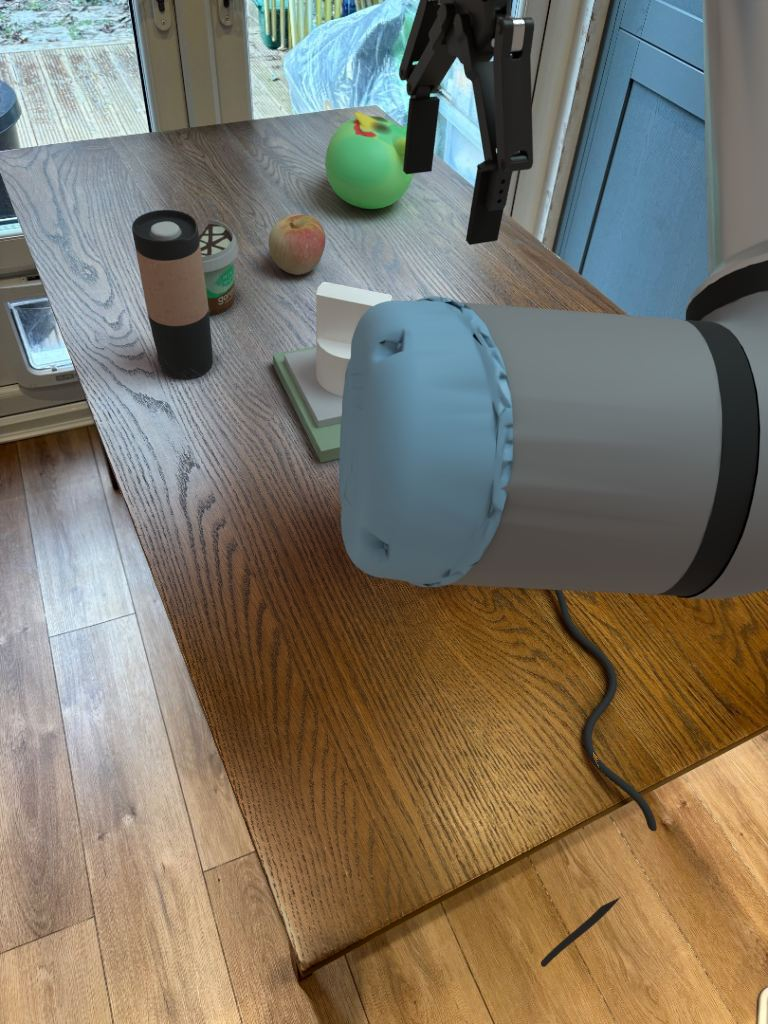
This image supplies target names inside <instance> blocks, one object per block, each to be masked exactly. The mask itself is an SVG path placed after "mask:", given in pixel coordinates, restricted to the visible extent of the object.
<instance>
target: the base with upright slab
mask: <svg viewBox="0 0 768 1024" xmlns="http://www.w3.org/2000/svg"><path fill="white" fill-rule="evenodd" d="M315 293H316V295H315V298H316V303H315V306H316V307H315V309H316V311H315V313H316V315H315V317H316V318H315V320H316V321H315V326H316V327H315V334H316V335H315V338H316V339H315V342H316V343H315V344H316V345H315V346H316V376H317V380H318V382H319V384H320V385H321V386H322V387H323V388H324V389H325V390H327V391H328V392H330V393H332V394H335V395H338V396H341V397H343V391H344V384H345V374H346V370H347V366H348V362H349V360H350V357H351V342H352V338H353V334H354V331H355V329H356V326H357V324H358V322H359V320H360V319H361V317H362V316H363V315H364V314H365V312H366V311H367V310H369V309H370V308H371V307H373V306H375V305H376V304H379V303H382V302H386V301H393V295H392V294H388V293H383V292H379V291H374V290H369V289H363V288H358V287H353V286H348V285H343V284H338V283H333V282H328V281H323V282H321V284H320V285H319V286H318V287H317V289H316V292H315Z"/></svg>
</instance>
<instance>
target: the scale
mask: <svg viewBox="0 0 768 1024" xmlns="http://www.w3.org/2000/svg"><path fill="white" fill-rule="evenodd" d="M272 367H273V368H274V370H275V372H276V374H277V376H278V378H279V381H280V383H281V385H282V386H283V389H284V391H285V392H286V394H287V397H288V399H289V401H290V402H291V405H292V407H293V409H294V411H295V413H296V415H297V418H298V419H299V421H300V423H301V425H302V427H303V430H304V431H305V433H306V435H307V437H308V440H309V441H310V443H311V445H312V448H313V449H314V451H315V453H316V456H317V458H318V460H319V462H320V463H321V464H322V463H326V462H330V461H331V462H332V461H334V460H339V455H340V427H341V416H342V401H343V397H341V396H338V395H335V394H332V393H330V392H328V391H327V390H325V389H324V388H323V387H322V386H321V385H320V384H319V382H318V380H317V376H316V345H315V346H310V347H309V346H308V347H303V348H298V349H295V350H288V351H282V352H277V353H272Z"/></svg>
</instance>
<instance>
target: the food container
mask: <svg viewBox="0 0 768 1024" xmlns="http://www.w3.org/2000/svg"><path fill="white" fill-rule="evenodd" d="M206 223H207V226H206V227H205V229H204V230H203V232H201V234H199V241H200V248H201V256H202V263H203V270H204V278H205V285H206V292H207V300H208V308H209V317H214V316H217V315H220V314H223V313H224V312H227V311H228V310H230V309H231V307H232V306H233V305H234V303H235V259H236V258H237V256H238V255H239V251H240V250H239V246H238V242H237V239H236V236H235V234H234V232H233V230H232V229H231V228H230V227H229V226H228V225H227V224H225V223H223V222H221V221H220V220H216V219H213V218H209V217H208V218H206Z"/></svg>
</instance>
